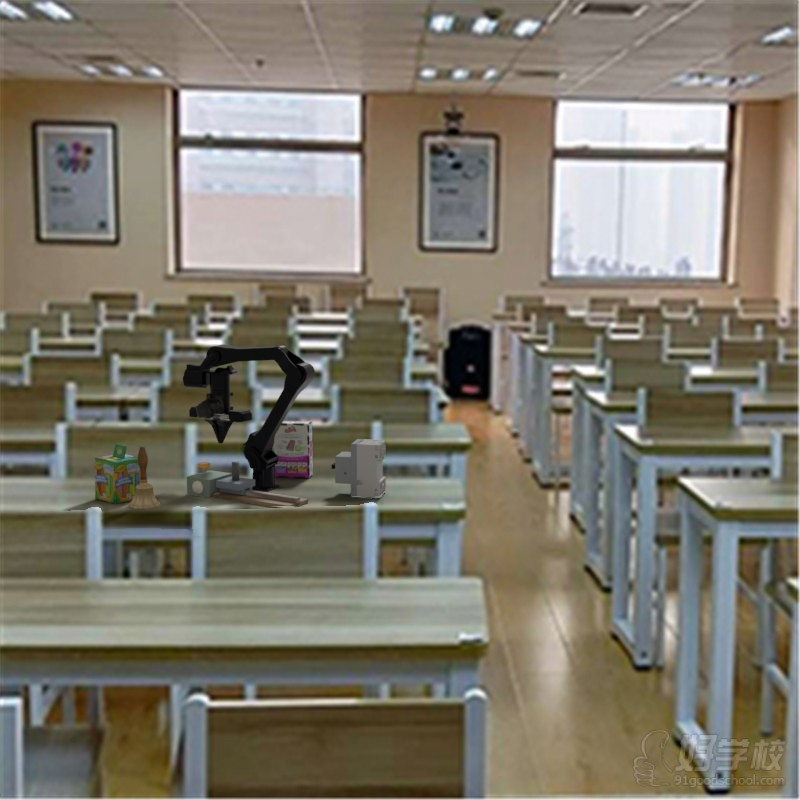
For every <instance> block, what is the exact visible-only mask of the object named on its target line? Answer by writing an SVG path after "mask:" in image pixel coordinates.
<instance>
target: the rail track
mask: <svg viewBox="0 0 800 800" xmlns="http://www.w3.org/2000/svg"><path fill="white" fill-rule="evenodd" d="M211 498H212V499H218V500H225V501H232V502H237V503H242V504H243V503H245V504H251V505H255V506H257V505H258V506H262V507H263V506H264V507H269V506H297V507H300V506H303V505H305V504H308V503H309V498H302V497H300V496H299V497H298V496H293V495H285V494H279V493H272V492H267V491H266V492H265V491H260V490H254V489H252V490H247V489H245V495H238V494H232V493H225V492H220V488H219V492H216V493H212V494H211ZM299 505H300V506H299Z"/></svg>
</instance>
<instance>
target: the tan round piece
mask: <svg viewBox="0 0 800 800" xmlns="http://www.w3.org/2000/svg"><path fill="white" fill-rule="evenodd" d="M196 466H197V469H198V470H201V473H205V472H206V471H207V470H209V469H211V463H210V462H206V461H205V462H198V463H197V464H196Z"/></svg>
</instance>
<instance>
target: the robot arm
mask: <svg viewBox="0 0 800 800" xmlns="http://www.w3.org/2000/svg"><path fill="white" fill-rule="evenodd" d="M205 355H206V357H205V358H204V359H203V361H202V363H201V364H195V363H187V364H186V369H185V370H184V371H183V372H184V373H183V375H182V383H183V385H184V387H185V388H188V389H189V388H191V389H206V388H208V386H209V392H207V393H206V398H205V400H203V401H201V402H200V403H198V404H197V405H194V406H193V405H192V406H190V409H189V411H188V416H189V417H190V418H200V419H201V418H202V419H203V418H204V421H205V422H207V423H208V424H210V425H211V427H212V430H213V432H214V435H215V438H216V440H217V442H218V443H217V444H223V443H224V441H225V440H226V437H227V435H228V432H229V430H230V428H231V427H232V425H233V424H234V422H235V423H243V422H247V421H252V420H253V413H252V411H251V410H250V409H243V408H239V409H234V406H233V405H232V406H231V397H233V396H234V391H233V392H232V391H231V375H235V374H237V373H238V370H236V369H235V368H234V367H233V365H231V364H233V363H237V362H257V361H258V362H259V361H275V362H276V363H277V365H278V367H279V368H280V370H281V371H282V372H283V373H284V374H285V375H286V376H285V378H284V383H283V390H282V391H281V393H280V394H279V397H278V398H277V400H276V402H275V403H274V406H273V407H272V409H271V411H270V412H269V413H268V415H267V418H266V419H265V421H264V423H263V425H262V426H261V428H260V430H259V429H258V430H256V431H254V432H250V433H249V435H248V437H247V440H246V441H245V442H244V443H243V455H244V457H245V460H247V462H248V465H249V467H250V469H251V470H252V479H255V486H253V487H252V490H259V491H260V490H262V491H270V490H272V489H275V488H276V489H277V488H279V487H280V484H278V483H276V477H275V464H277V463H278V460H279V457H278V456H277V454H276V453H275V452H274V451H273V445H274V438H275V434H276V433H277V431H278V429H279V427H280V426H281V424H282V422H283V421H285V418H286V417H287V415H288V413H289V411H290V410H291V408H292V406H293V405H294V403H295V401H296V400H297V397H298V396H299V395H300V394H301V393H302V392H303V391H304V390H305V389H306V388H307V387H308V386H309V385H310V383H311V382H312V381H313V380H314V379H315V377H316V372H315V371H316V370H315V368H314V366H313V365H312V364H311V363H309V362H306V361H305V360H304V359H302V358H301V357H300V356H298V355H297V354H296V353H294V352H293V351H291V350H290V349H289V348H288V347H287V346H285V345H282V344H279V345H276V346H255V347H253V346H252V347H250V346H249V347H239V346H236V345H231V344H225V343H224V344H219V345H213V346H210V347H209V348H208V349H207V351H206V354H205ZM229 364H230V365H229ZM225 365H227V366H226V367H220V366H225ZM215 368H216V369H215ZM211 369H213V370H211Z"/></svg>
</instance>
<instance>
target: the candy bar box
mask: <svg viewBox="0 0 800 800" xmlns="http://www.w3.org/2000/svg"><path fill="white" fill-rule="evenodd" d="M272 450H273V451H274V452H275V453H276V454H277V456H278V457H279V460H278V463H277V464H275V478H290V479H291V478H292V479H293V478H295V479H310V478H311V477H313V475H314V467H313V465H314V464H313V461H314V460H313V457H314V456H313V454H314V453H313V421H302V420H301V421H300V420H299V421H298V420H283V422H282V424H281V426H280V427H279V429H278V431H277V433H276V434H275V438H274V445H273V447H272Z"/></svg>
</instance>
